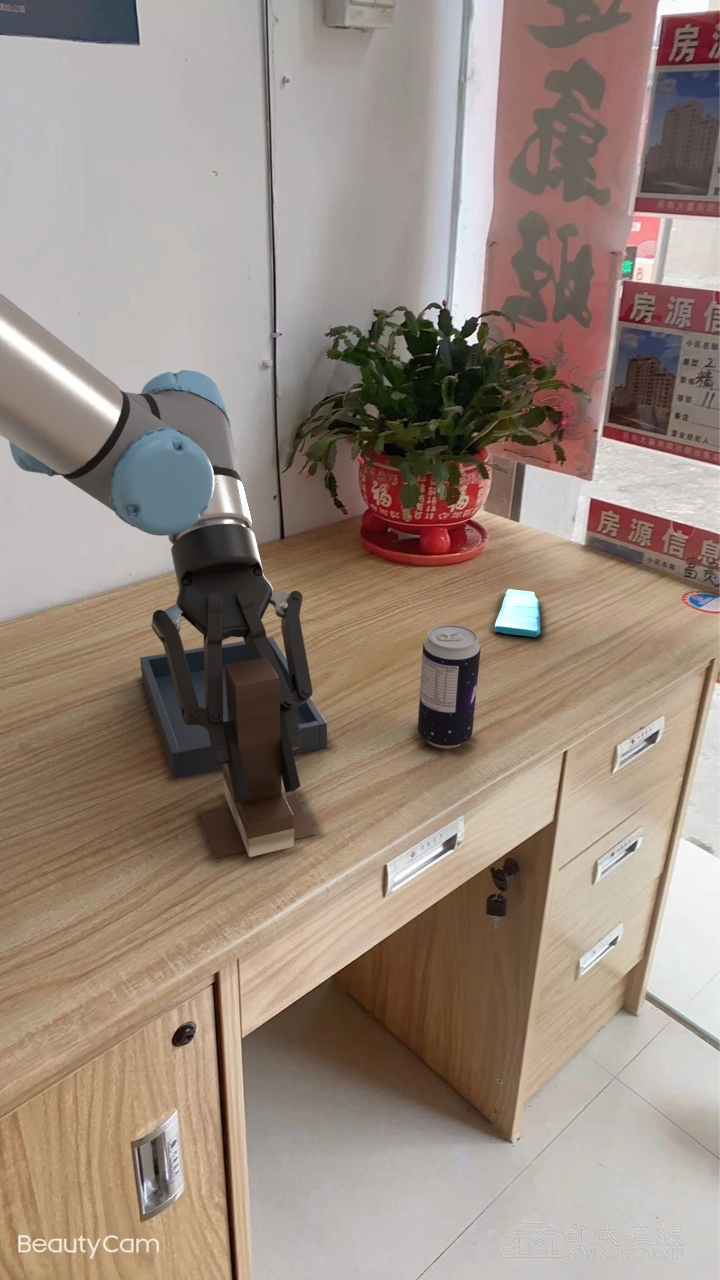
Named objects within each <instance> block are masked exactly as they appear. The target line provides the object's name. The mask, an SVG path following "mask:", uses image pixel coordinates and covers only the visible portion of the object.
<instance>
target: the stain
mask: <svg viewBox="0 0 720 1280" xmlns="http://www.w3.org/2000/svg"><path fill="white" fill-rule="evenodd" d="M284 797H285V799H286V801H287V803H288V805H289V807H290V809H291V811H292V813H293V817H294V841H295V840H300V839H304V838H308V837H314V836H316V835H317V834H316V833H315V829H313V826H312V824H311V821H310V820H309V818H308V816H307V814H306V812H305V810H304V808H303V806H302V804H301V802H300V800H299V798H298V797H297V794H296V793H295V794H290V795H286V796H285V795H284ZM200 817H201V820H202V822H203V826H204V828H205V832H206V834H207V837H208V838H207V839H209V844H210V846H211V849H212V852H213V856H214V858H215V859H220V858H224V857H228V856H232V855H236V854H241V853H247V850H246V848H245V845H244V843H243V840H242V838H241V835H240V832H239V830H238V827H237V825H236V822H235V820H234V817H233V815H232V812H231V810H230V808H226V809H222V810H216V811H214V812H208V813H204V814H200Z"/></svg>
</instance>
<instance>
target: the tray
mask: <svg viewBox="0 0 720 1280" xmlns="http://www.w3.org/2000/svg"><path fill="white" fill-rule="evenodd" d="M267 639H268V641H269V643H270V646H271V648H272V650H273V653H274V655H275V657H276V660H277V662H278V664H279V667H280V669H281V671H282V674H283V676H284V678H285V681H286V683H287V685H288V688H289V690H290V692H291V693H292V688H291V682H290V676H289V670H288V664H287V659H286V654H285V653H284V652H283V650H282V649H281V647H280V645H279V644H278V643H277V641H276V639H275V638H274V636H267ZM184 652H185V656H186V660H187V663H188V667H189V671H190V675H191V678H192V682H193V686H194V690H195V694H196V697H197V701H198V705H199V707H200V708H205V656H204V647H199V648H192V649H186V650H185V649H184ZM252 659H253V656H252V654H251V652H250V649H249V648H248V647H247V646H246V644H245V641H244V640H243V641H236V642H229V643H224V644H223V643H222V682H223V722H227V721H228V710H227V694H226V677H225V664H228V663H234V662H240V661H246V660H252ZM139 661H140V662H139V663H140V671H141V680H142V684H143V686H144V689H145V692H146V696H147V699H148V702H149V705H150V708H151V711H152V714H153V718H154V721H155V723H156V724H155V725H156V727H157V730H158V733H159V736H160V739H161V743H162V746H163V748H164V752H165V755H166V758H167V761H168V764H169V767H170V770H171V771H170V772H171V773H172V776H173V779H174V780H175V779H176V780H177V779H181V778H186V777H190V776H194V775H195V776H196V775H201V774H204V773H210V772H214V771H220V770H223V764H222V765H217V764H216V762H215V761H214V758H213V753H212V748H211V743H210V738H209V733H208V731H207V729H206V728H205V727H203V726H199V725H187V724H185V723H184V721H183V718H182V714H181V710H180V706H179V702H178V699H177V695H176V691H175V687H174V683H173V679H172V675H171V672H170V668H169V664H168V660H167V656H166V653H159V654H154V655H148V656H147V655H146V656H140V657H139ZM295 713H296V718H297V722H298V726H299V731H300V735H301V739H302V741H301V746H300V747H299V748H298V749H296V750H292V751H293V756H295V755H299V754H303V753H309V752H312V751H317V750H318V751H319V750H322V749H327V748H328V723H327V721H326V719H325V718H324V717H323V715H322V714H321V712H320V710H319V709H318V707H317V705H316V704H315V701H314V700H313V699H312V696H311V697H310V698H309V699H308V700H307V701H306V702H305V703H304V704H302V705H300V706H299V707H297V708H296V710H295Z"/></svg>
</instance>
